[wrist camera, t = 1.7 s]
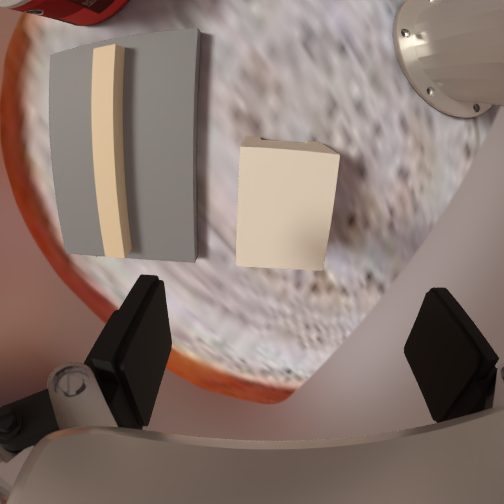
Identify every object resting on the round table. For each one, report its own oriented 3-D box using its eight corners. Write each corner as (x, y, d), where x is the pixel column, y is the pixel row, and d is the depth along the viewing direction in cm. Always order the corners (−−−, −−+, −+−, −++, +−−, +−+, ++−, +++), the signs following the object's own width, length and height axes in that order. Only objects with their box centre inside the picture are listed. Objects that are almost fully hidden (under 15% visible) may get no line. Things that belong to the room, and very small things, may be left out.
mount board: (201, 32, 19) (192, 22, 16) (198, 255, 28) (190, 272, 26) (59, 56, 20) (39, 53, 17) (73, 247, 29) (57, 261, 26)
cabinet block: (319, 141, 24) (339, 154, 17) (308, 239, 27) (321, 280, 21) (245, 136, 24) (240, 146, 17) (241, 235, 28) (235, 276, 21)
